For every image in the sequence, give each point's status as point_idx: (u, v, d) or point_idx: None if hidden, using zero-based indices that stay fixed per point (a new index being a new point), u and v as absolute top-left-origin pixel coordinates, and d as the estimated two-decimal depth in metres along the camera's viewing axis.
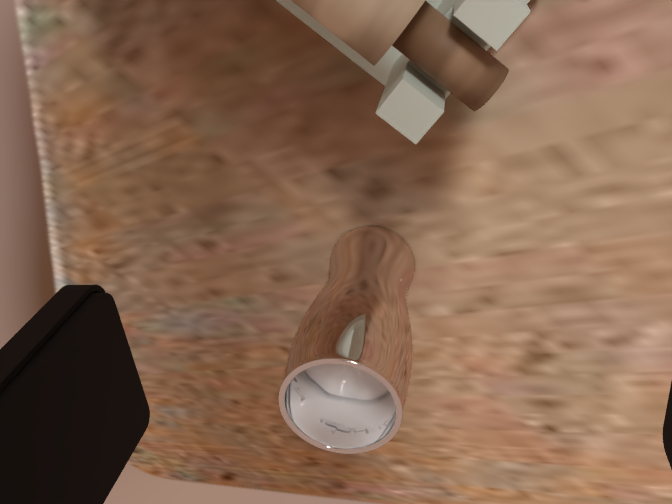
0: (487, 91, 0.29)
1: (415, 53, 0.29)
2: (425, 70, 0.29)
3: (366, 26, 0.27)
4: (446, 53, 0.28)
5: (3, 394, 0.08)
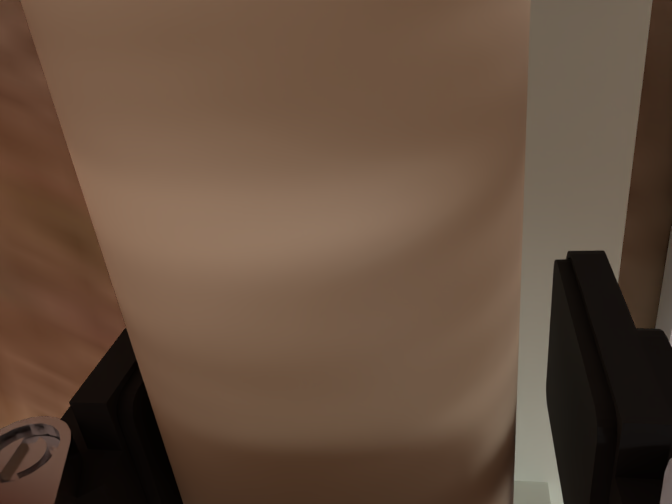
0: None
1: None
2: None
3: None
4: None
5: None
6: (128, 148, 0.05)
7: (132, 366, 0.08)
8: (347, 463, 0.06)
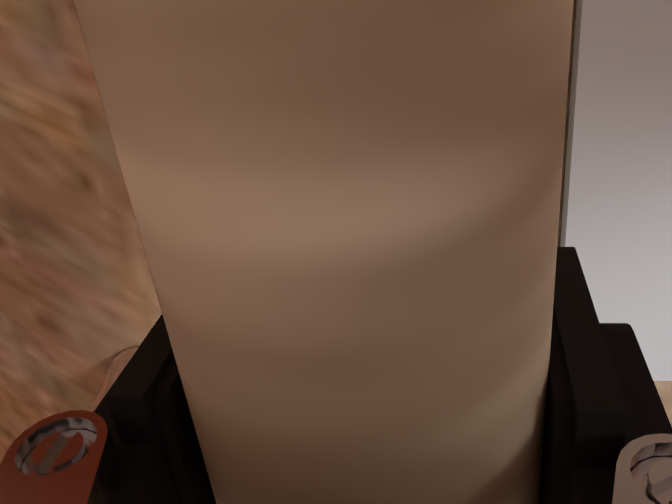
0: None
1: None
2: None
3: None
4: None
5: None
6: (185, 137, 0.05)
7: (165, 360, 0.08)
8: (390, 452, 0.06)
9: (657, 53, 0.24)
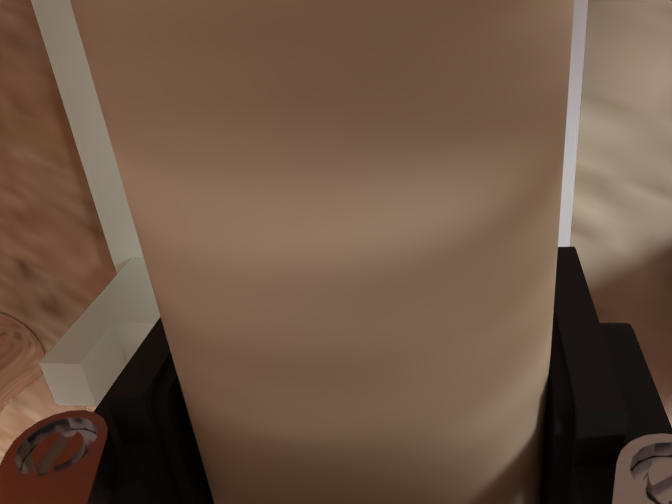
0: None
1: None
2: None
3: None
4: None
5: None
6: (184, 143, 0.05)
7: (165, 360, 0.09)
8: (390, 457, 0.06)
9: None
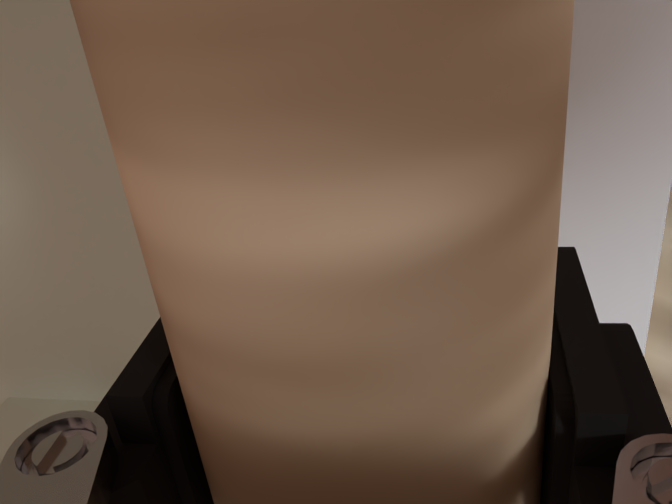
0: None
1: None
2: None
3: None
4: None
5: None
6: (183, 146, 0.05)
7: (165, 360, 0.08)
8: (390, 458, 0.06)
9: None
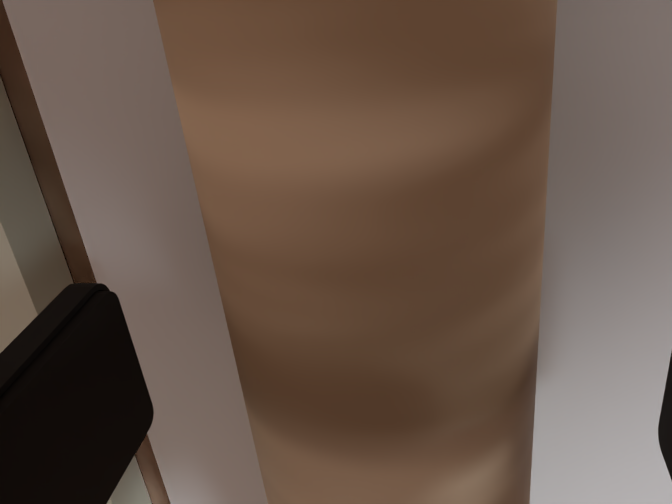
0: None
1: None
2: None
3: None
4: None
5: (9, 392, 0.08)
6: (241, 80, 0.06)
7: None
8: (403, 352, 0.08)
9: None
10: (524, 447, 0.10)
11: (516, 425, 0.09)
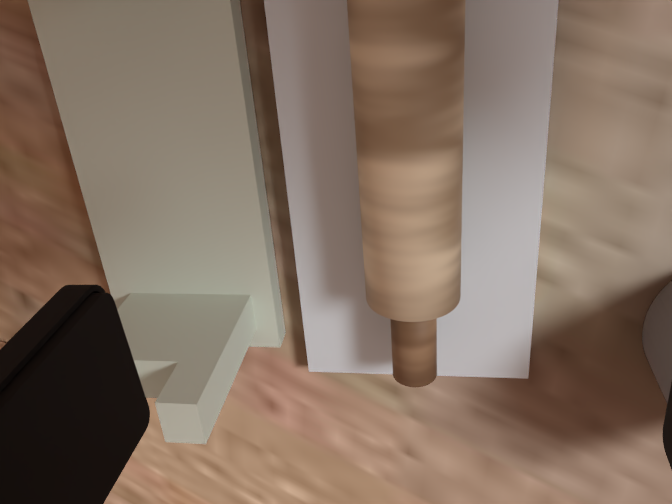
0: (406, 381, 0.34)
1: (393, 320, 0.33)
2: (391, 328, 0.34)
3: (377, 291, 0.31)
4: (408, 343, 0.33)
5: (3, 394, 0.08)
6: (382, 39, 0.25)
7: None
8: (420, 121, 0.26)
9: (334, 118, 0.31)
10: (458, 172, 0.28)
11: (454, 159, 0.28)
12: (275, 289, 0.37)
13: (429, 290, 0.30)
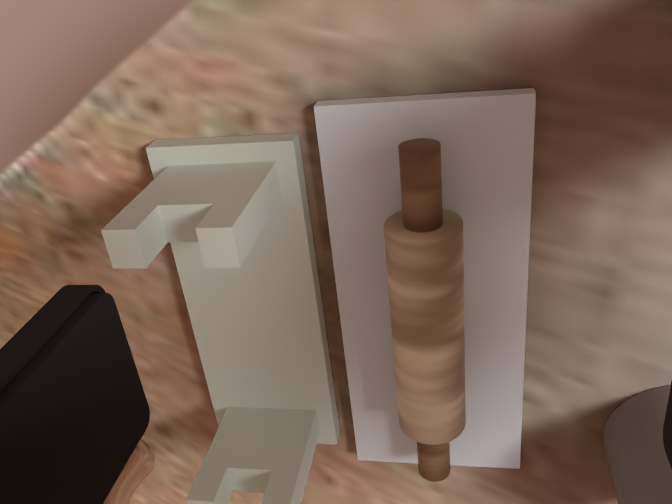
0: (427, 477, 0.48)
1: None
2: None
3: (406, 422, 0.45)
4: (428, 453, 0.47)
5: (3, 394, 0.08)
6: (407, 282, 0.39)
7: None
8: (432, 329, 0.40)
9: (377, 301, 0.45)
10: (460, 353, 0.42)
11: (457, 347, 0.41)
12: (333, 405, 0.51)
13: (441, 426, 0.44)
